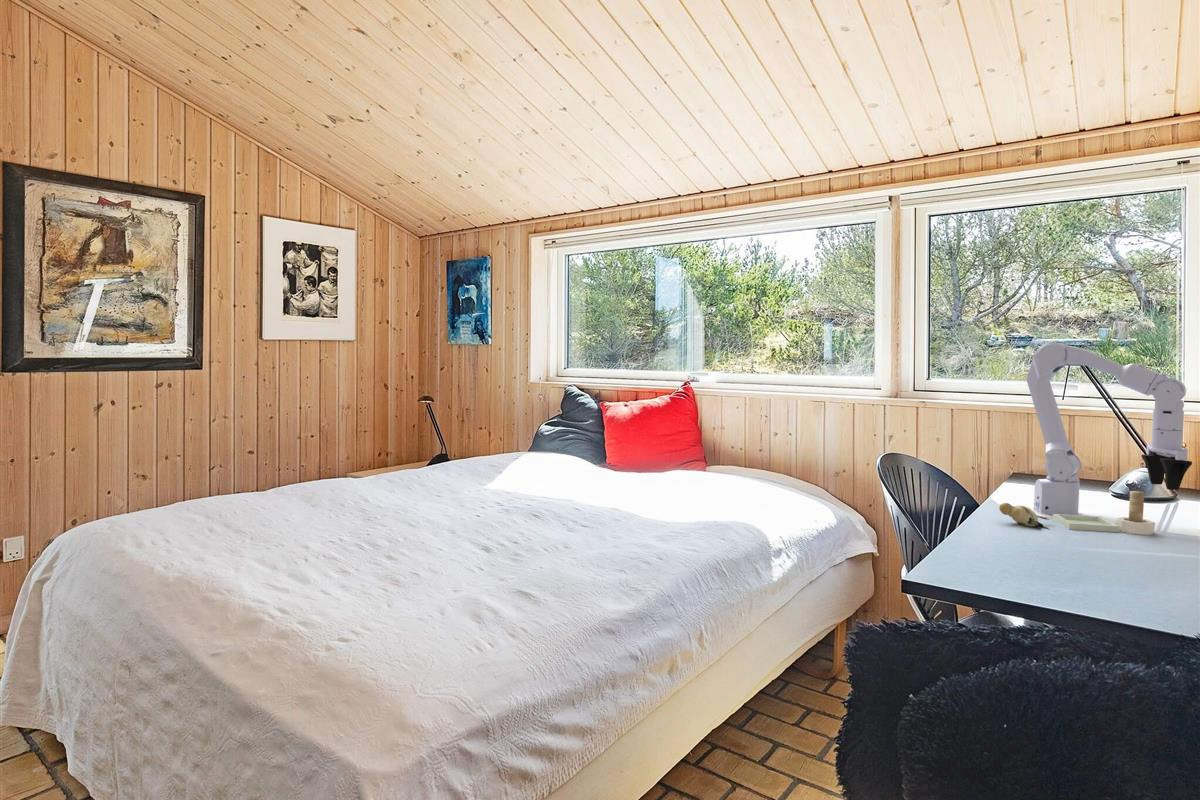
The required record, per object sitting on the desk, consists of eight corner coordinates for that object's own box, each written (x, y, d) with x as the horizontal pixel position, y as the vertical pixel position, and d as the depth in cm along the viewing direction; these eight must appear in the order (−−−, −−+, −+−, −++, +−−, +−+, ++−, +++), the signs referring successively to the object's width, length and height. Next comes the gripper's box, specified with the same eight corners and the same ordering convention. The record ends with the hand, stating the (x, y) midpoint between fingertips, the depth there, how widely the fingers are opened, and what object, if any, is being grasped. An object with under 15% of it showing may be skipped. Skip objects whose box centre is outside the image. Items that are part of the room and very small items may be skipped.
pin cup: (1125, 535, 164) (1125, 522, 164) (1113, 529, 171) (1113, 516, 170) (1158, 537, 163) (1158, 524, 163) (1144, 531, 169) (1145, 518, 169)
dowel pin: (1131, 532, 166) (1133, 492, 165) (1126, 529, 168) (1128, 490, 168) (1144, 532, 165) (1146, 493, 165) (1139, 530, 168) (1141, 491, 167)
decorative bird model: (1039, 507, 179) (999, 495, 179) (1066, 526, 166) (1023, 514, 167) (1032, 523, 180) (992, 511, 180) (1059, 543, 167) (1016, 531, 168)
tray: (1068, 531, 168) (1069, 523, 168) (1052, 521, 179) (1053, 513, 179) (1118, 534, 166) (1119, 526, 166) (1099, 523, 176) (1099, 516, 176)
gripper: (1204, 433, 164) (1201, 493, 165) (1171, 427, 178) (1168, 482, 179) (1168, 432, 166) (1165, 491, 166) (1138, 426, 180) (1135, 481, 181)
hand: (1164, 486), depth 173 cm, fingers open, 7 cm apart
